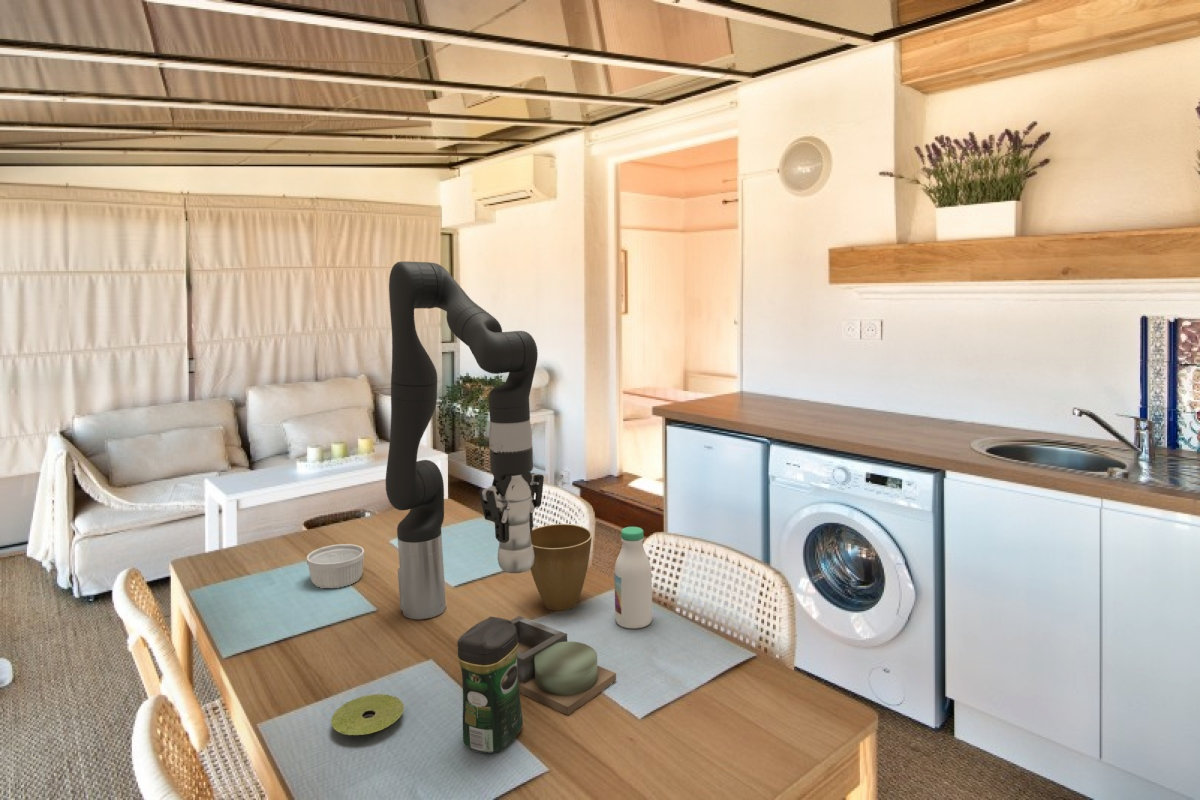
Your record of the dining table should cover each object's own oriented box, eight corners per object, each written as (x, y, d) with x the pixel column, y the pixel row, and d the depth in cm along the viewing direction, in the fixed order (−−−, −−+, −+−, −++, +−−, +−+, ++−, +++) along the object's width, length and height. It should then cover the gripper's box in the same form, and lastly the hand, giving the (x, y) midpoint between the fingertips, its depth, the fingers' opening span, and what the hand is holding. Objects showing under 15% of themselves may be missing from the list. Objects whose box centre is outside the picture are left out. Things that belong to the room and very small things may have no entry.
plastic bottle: (529, 579, 127) (524, 468, 123) (492, 576, 128) (487, 467, 125) (539, 564, 133) (535, 459, 130) (504, 562, 134) (500, 458, 131)
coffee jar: (488, 714, 119) (483, 608, 116) (530, 725, 116) (525, 617, 113) (453, 748, 110) (446, 635, 107) (497, 762, 107) (491, 645, 104)
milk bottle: (657, 616, 153) (656, 526, 149) (644, 632, 146) (642, 538, 142) (623, 610, 156) (622, 521, 153) (609, 625, 149) (607, 533, 146)
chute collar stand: (470, 669, 133) (468, 639, 132) (520, 641, 143) (519, 613, 142) (568, 715, 118) (567, 681, 117) (616, 680, 128) (615, 649, 127)
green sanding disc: (355, 755, 109) (354, 743, 109) (319, 726, 117) (318, 715, 116) (418, 721, 117) (417, 710, 117) (380, 696, 125) (379, 686, 125)
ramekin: (377, 576, 177) (375, 549, 176) (332, 596, 166) (330, 567, 165) (342, 566, 184) (340, 540, 183) (297, 584, 173) (294, 557, 172)
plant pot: (530, 590, 167) (528, 524, 165) (594, 589, 167) (593, 523, 164) (522, 619, 152) (519, 547, 150) (592, 619, 152) (590, 547, 149)
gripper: (524, 435, 134) (528, 522, 137) (465, 450, 124) (470, 544, 126) (554, 440, 130) (557, 530, 133) (495, 456, 119) (499, 553, 122)
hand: (514, 536), depth 129 cm, fingers closed on plastic bottle, 5 cm apart
